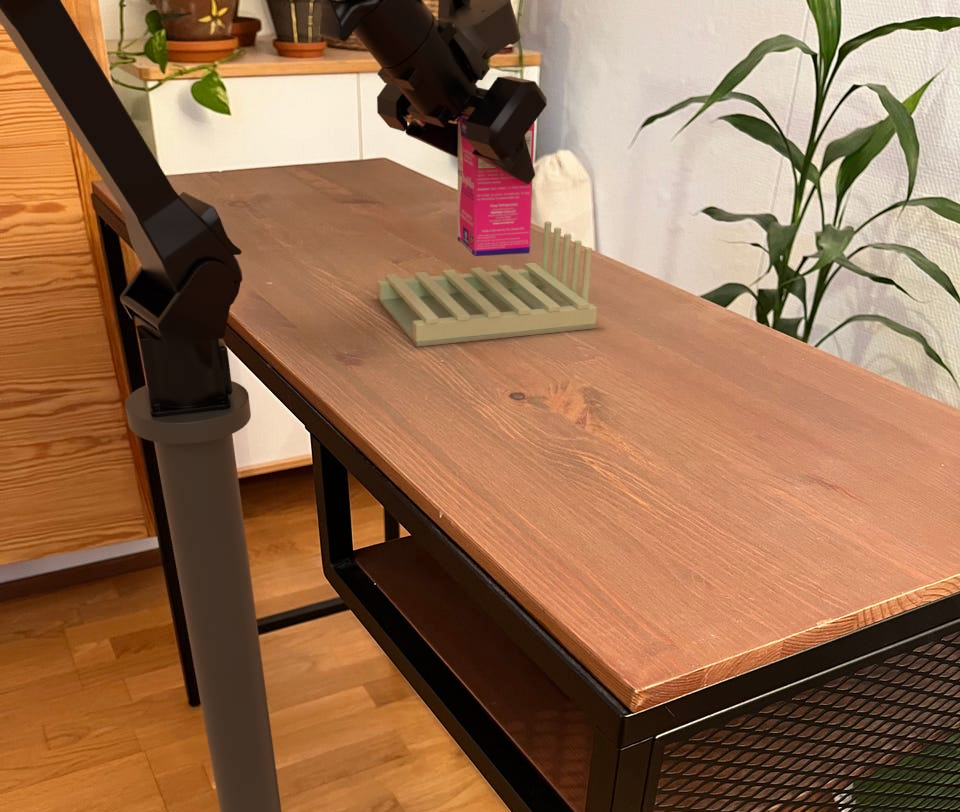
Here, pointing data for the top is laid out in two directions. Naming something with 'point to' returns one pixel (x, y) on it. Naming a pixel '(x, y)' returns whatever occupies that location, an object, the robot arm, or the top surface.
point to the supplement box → (492, 203)
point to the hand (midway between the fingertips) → (507, 172)
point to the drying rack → (493, 299)
